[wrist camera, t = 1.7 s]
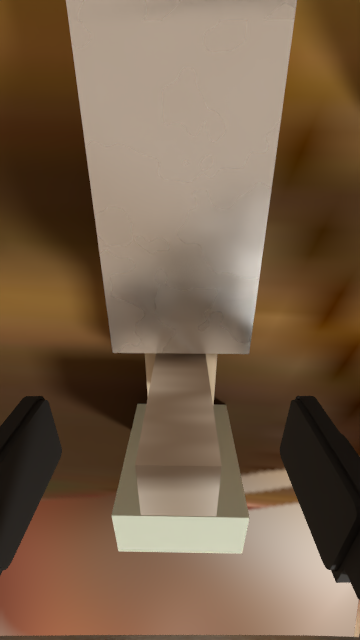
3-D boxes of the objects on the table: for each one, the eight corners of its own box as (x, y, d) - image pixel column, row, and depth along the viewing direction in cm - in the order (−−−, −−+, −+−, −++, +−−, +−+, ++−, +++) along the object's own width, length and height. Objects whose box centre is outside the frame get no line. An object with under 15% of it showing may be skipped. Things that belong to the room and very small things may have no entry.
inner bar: (223, 104, 11) (363, -247, 2) (206, 399, 18) (227, 577, 10) (140, 104, 11) (-11, -240, 3) (156, 398, 18) (130, 575, 10)
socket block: (225, 404, 23) (249, 517, 15) (222, 436, 24) (242, 553, 16) (137, 403, 23) (111, 515, 15) (140, 435, 24) (118, 551, 16)
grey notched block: (256, 101, 14) (338, -15, 6) (237, 294, 18) (271, 354, 11) (109, 102, 14) (25, -11, 6) (127, 293, 18) (90, 352, 11)
